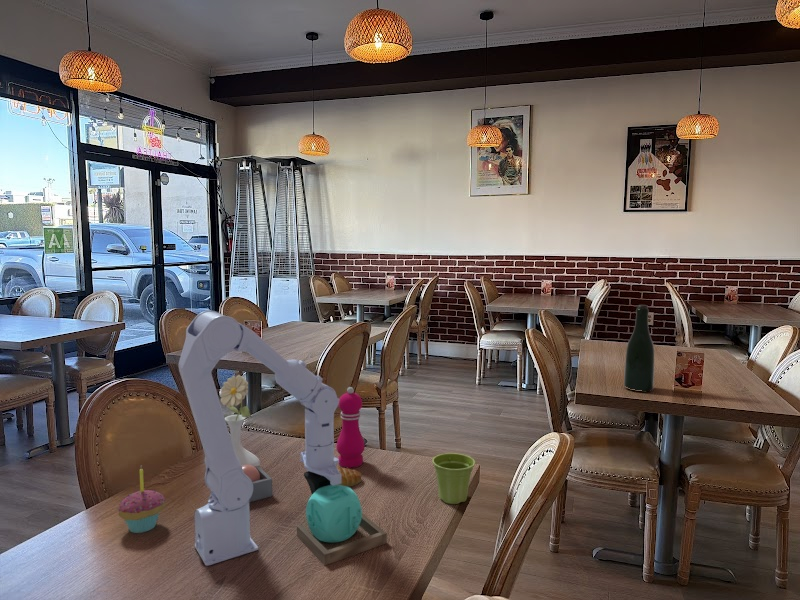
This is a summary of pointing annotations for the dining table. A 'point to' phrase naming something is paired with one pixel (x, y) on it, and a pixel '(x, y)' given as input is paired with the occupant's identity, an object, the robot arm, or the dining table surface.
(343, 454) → the pepper mill
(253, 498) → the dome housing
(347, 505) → the decorative dice
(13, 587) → the dining table surface
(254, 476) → the pop dome
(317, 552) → the frame
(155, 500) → the cupcake
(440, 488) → the plant pot
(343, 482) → the pastry
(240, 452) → the flower in vase
